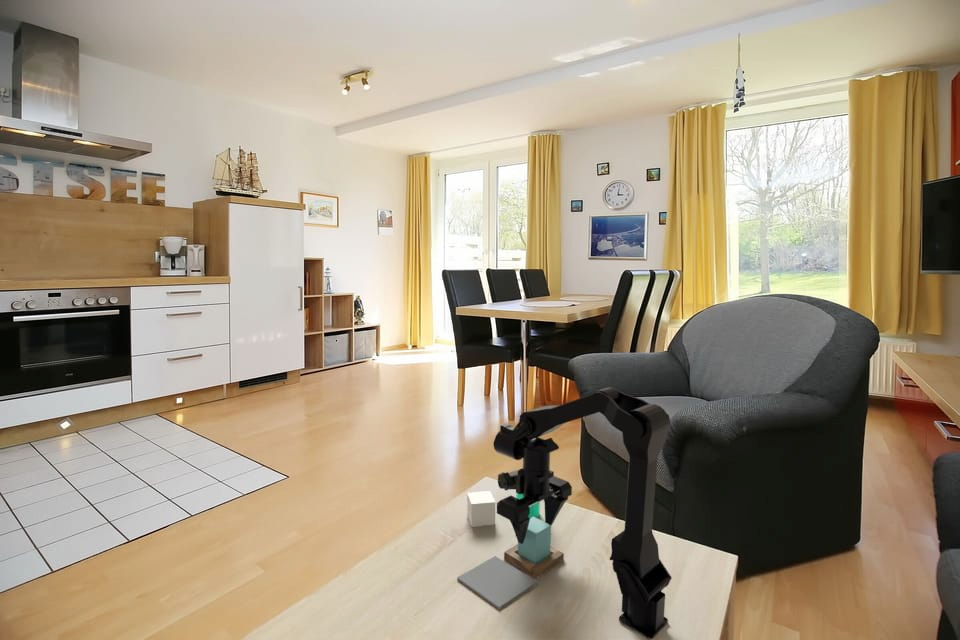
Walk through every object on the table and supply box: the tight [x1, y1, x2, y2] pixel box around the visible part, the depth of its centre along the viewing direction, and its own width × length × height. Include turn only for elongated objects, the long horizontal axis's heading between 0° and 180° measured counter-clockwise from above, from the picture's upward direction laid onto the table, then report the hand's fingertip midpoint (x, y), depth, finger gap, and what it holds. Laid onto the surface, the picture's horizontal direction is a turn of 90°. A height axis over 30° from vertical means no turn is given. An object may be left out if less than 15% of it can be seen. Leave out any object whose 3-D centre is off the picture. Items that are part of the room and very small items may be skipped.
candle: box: [515, 492, 541, 519], centre depth 129 cm, size 6×6×12 cm
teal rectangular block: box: [517, 517, 552, 565], centre depth 109 cm, size 5×5×8 cm
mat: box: [457, 555, 538, 610], centre depth 102 cm, size 12×11×1 cm
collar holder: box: [503, 543, 565, 578], centre depth 110 cm, size 9×9×2 cm
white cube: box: [466, 490, 496, 528], centre depth 126 cm, size 6×6×6 cm
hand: (534, 534), depth 109 cm, fingers open, 9 cm apart
